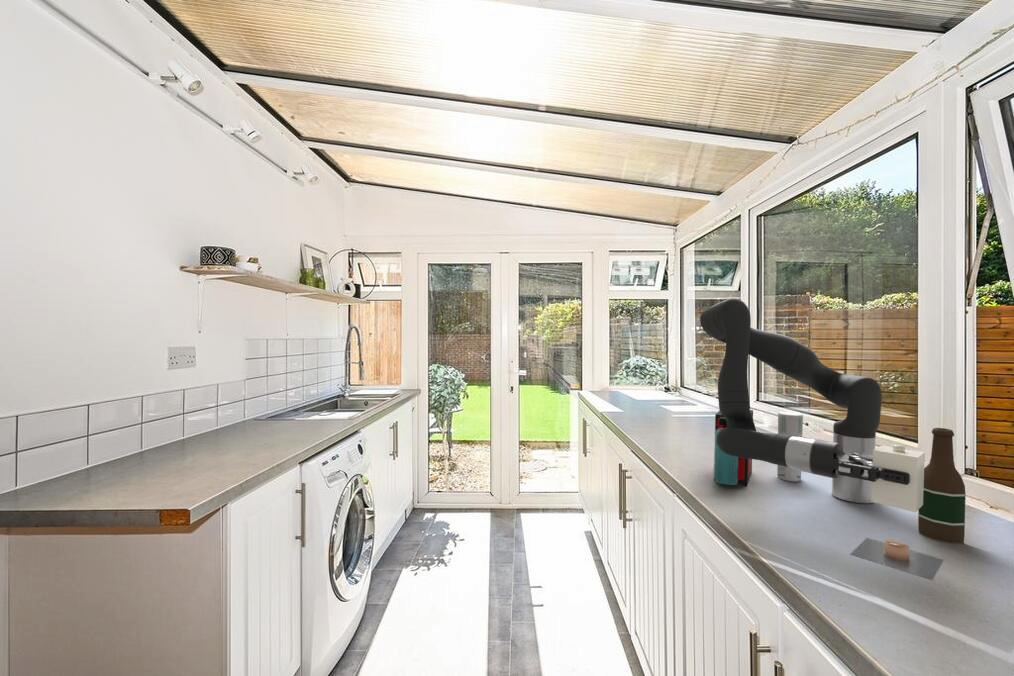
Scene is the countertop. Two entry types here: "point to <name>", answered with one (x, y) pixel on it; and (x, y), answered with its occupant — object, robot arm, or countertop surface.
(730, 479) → the beverage bottle
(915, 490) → the knobbed cream block
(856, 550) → the slate coaster
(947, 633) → the countertop surface
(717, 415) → the cleaning product box
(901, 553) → the ramekin
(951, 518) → the beer bottle
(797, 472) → the spray can
